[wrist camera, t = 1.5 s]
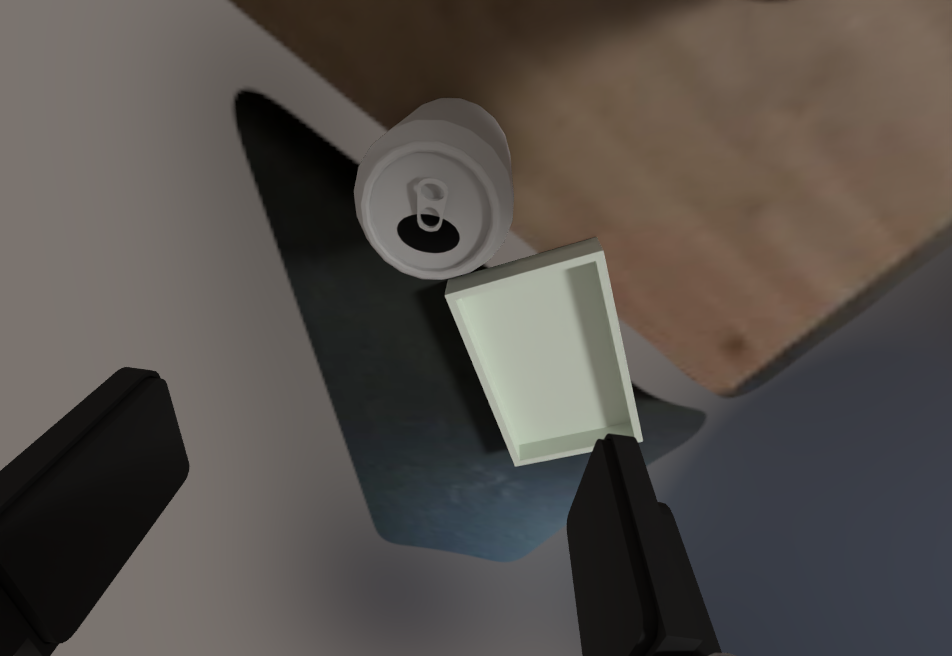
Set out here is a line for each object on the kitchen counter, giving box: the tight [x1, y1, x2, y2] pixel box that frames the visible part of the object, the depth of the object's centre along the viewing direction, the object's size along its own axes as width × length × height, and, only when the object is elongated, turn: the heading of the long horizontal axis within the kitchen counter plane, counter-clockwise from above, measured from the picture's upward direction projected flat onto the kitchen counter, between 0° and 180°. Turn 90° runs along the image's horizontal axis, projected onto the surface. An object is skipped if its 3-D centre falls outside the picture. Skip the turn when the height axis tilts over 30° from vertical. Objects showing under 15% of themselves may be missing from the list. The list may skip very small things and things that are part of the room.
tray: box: [445, 237, 643, 467], centre depth 37 cm, size 18×11×2 cm, turn 19°
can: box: [354, 98, 514, 280], centre depth 25 cm, size 8×8×12 cm
